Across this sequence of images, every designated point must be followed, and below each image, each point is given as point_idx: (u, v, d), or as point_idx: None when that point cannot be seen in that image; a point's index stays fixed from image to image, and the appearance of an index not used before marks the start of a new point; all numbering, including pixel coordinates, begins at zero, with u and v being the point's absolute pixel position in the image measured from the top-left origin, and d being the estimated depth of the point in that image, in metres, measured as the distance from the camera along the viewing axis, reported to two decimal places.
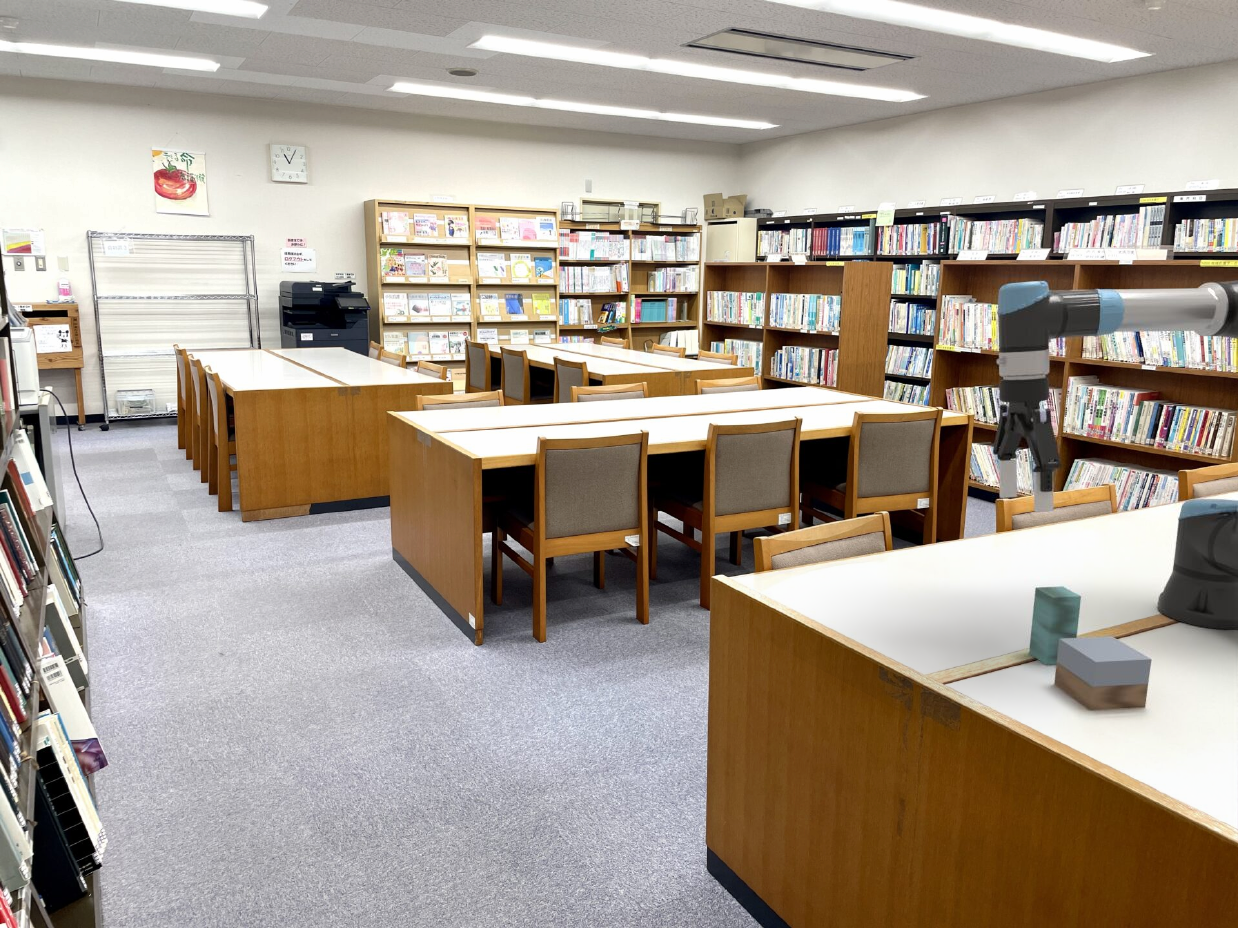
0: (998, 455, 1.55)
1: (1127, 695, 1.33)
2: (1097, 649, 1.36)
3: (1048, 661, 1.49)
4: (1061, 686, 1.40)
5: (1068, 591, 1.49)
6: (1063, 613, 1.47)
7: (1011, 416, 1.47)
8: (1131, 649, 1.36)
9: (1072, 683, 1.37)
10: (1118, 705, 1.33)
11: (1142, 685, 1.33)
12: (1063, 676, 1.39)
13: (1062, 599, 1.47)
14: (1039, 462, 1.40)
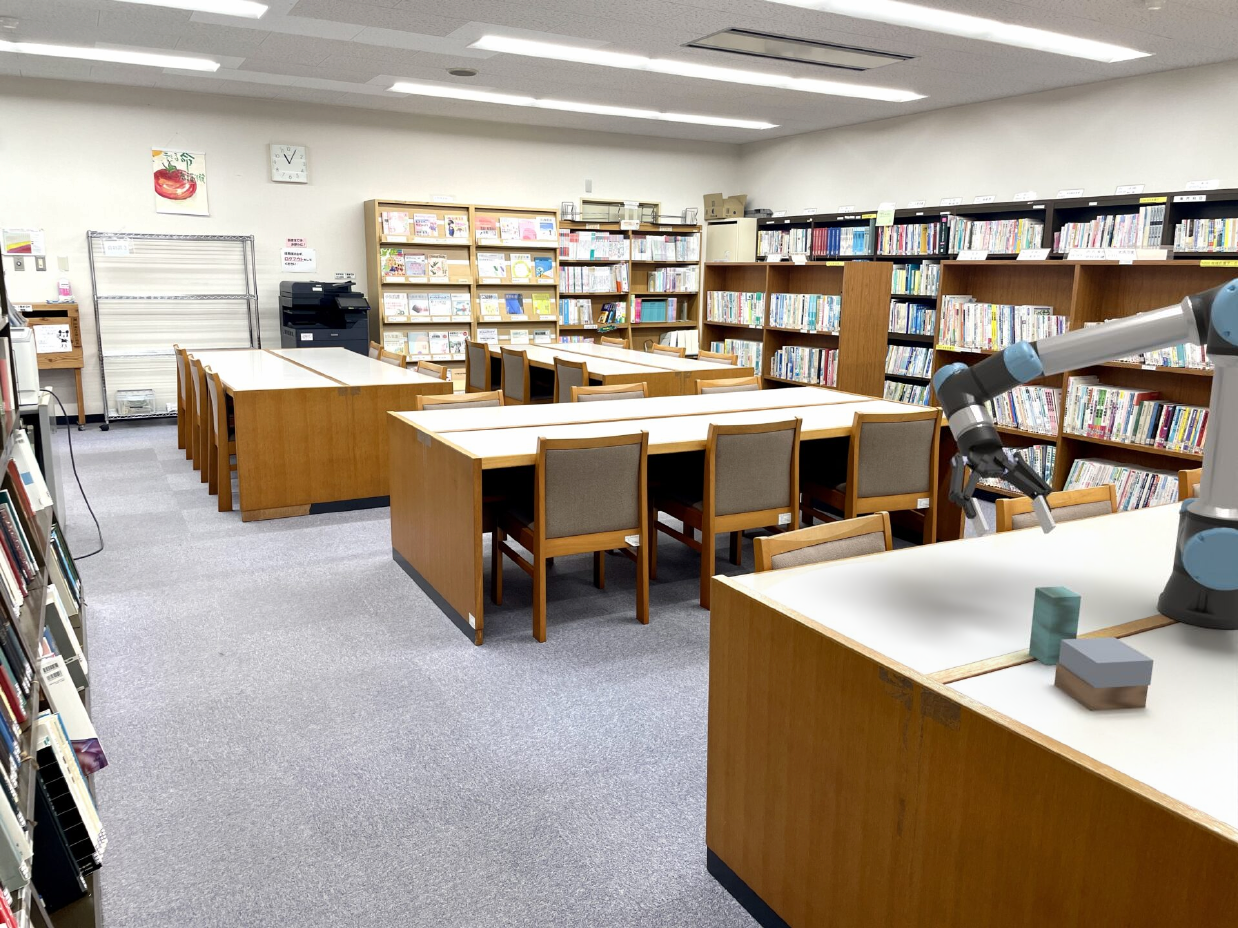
0: (1034, 498, 1.65)
1: (1127, 695, 1.33)
2: (1099, 650, 1.36)
3: (1048, 661, 1.49)
4: (1061, 687, 1.40)
5: (1068, 591, 1.49)
6: (1063, 613, 1.47)
7: None
8: (1133, 650, 1.36)
9: (1072, 683, 1.37)
10: (1118, 706, 1.33)
11: (1142, 686, 1.33)
12: (1063, 677, 1.39)
13: (1062, 599, 1.47)
14: None
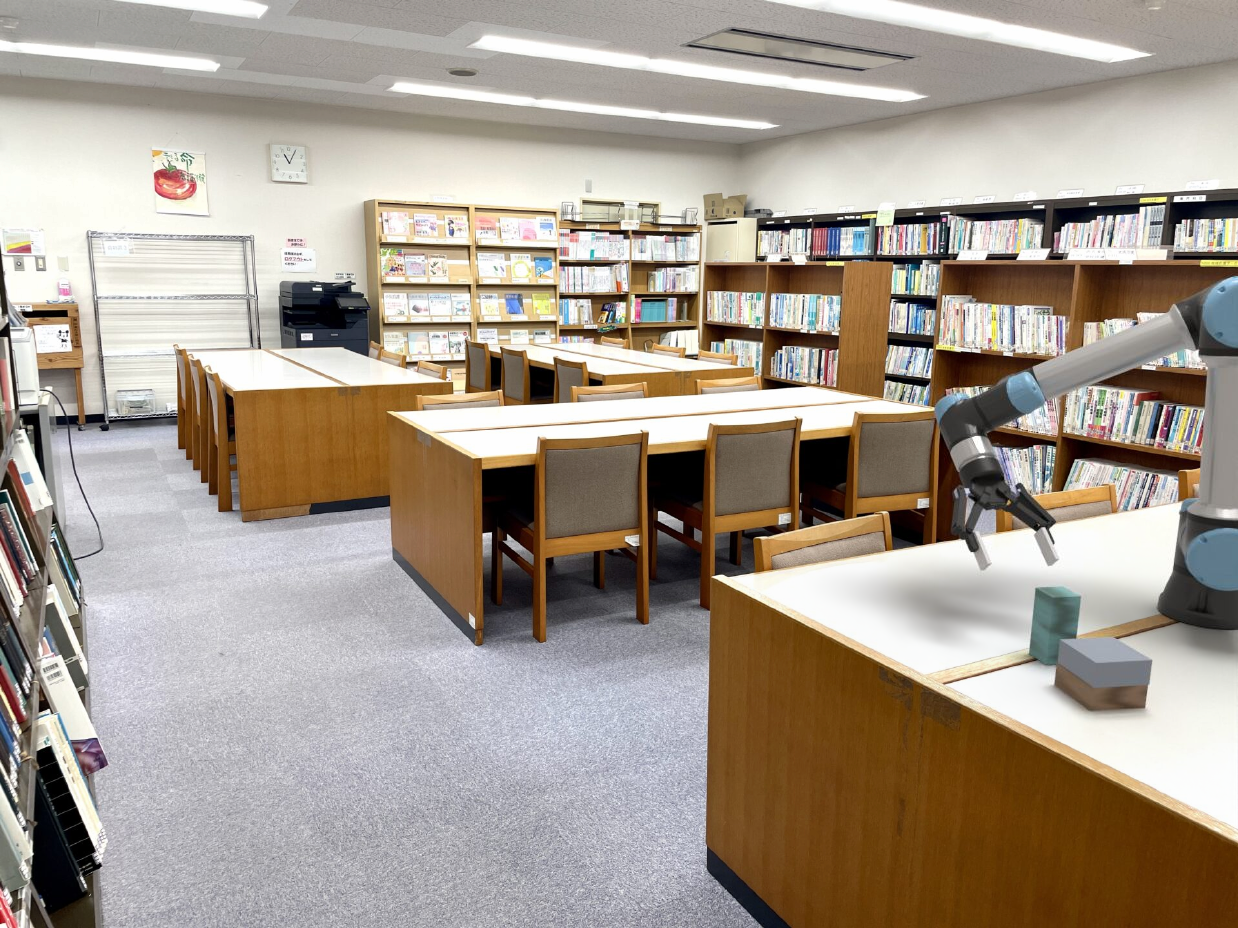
0: (1037, 530, 1.64)
1: (1127, 695, 1.33)
2: (1098, 650, 1.36)
3: (1048, 661, 1.49)
4: (1061, 686, 1.40)
5: (1068, 591, 1.49)
6: (1063, 613, 1.47)
7: None
8: (1132, 650, 1.36)
9: (1072, 683, 1.37)
10: (1118, 706, 1.33)
11: (1142, 686, 1.33)
12: (1063, 677, 1.39)
13: (1062, 599, 1.47)
14: None
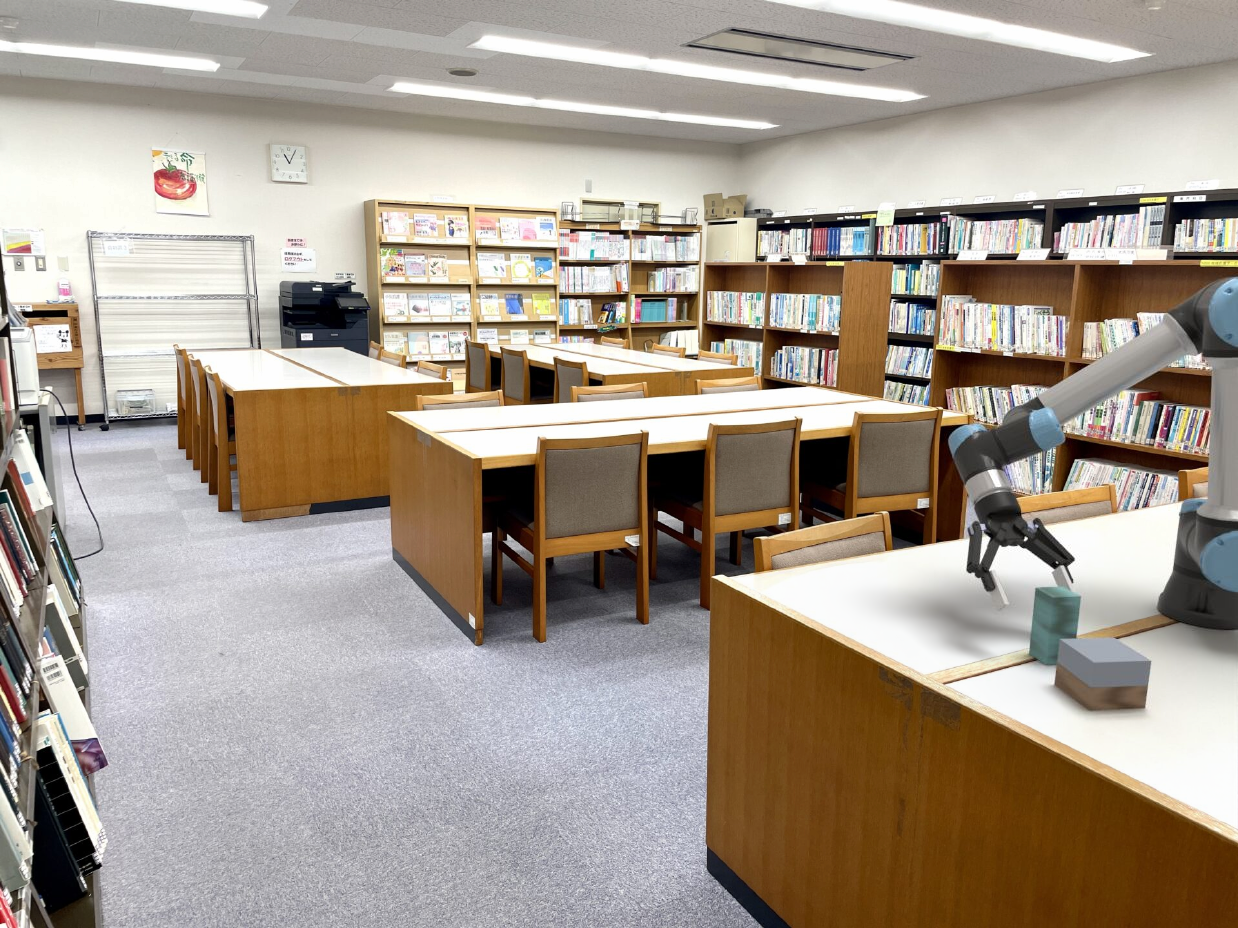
0: None
1: (1127, 695, 1.33)
2: (1097, 650, 1.36)
3: (1048, 661, 1.49)
4: (1061, 686, 1.40)
5: (1068, 591, 1.49)
6: (1063, 613, 1.47)
7: None
8: (1132, 650, 1.36)
9: (1072, 683, 1.37)
10: (1118, 706, 1.33)
11: (1142, 686, 1.33)
12: (1063, 677, 1.39)
13: (1062, 599, 1.47)
14: None
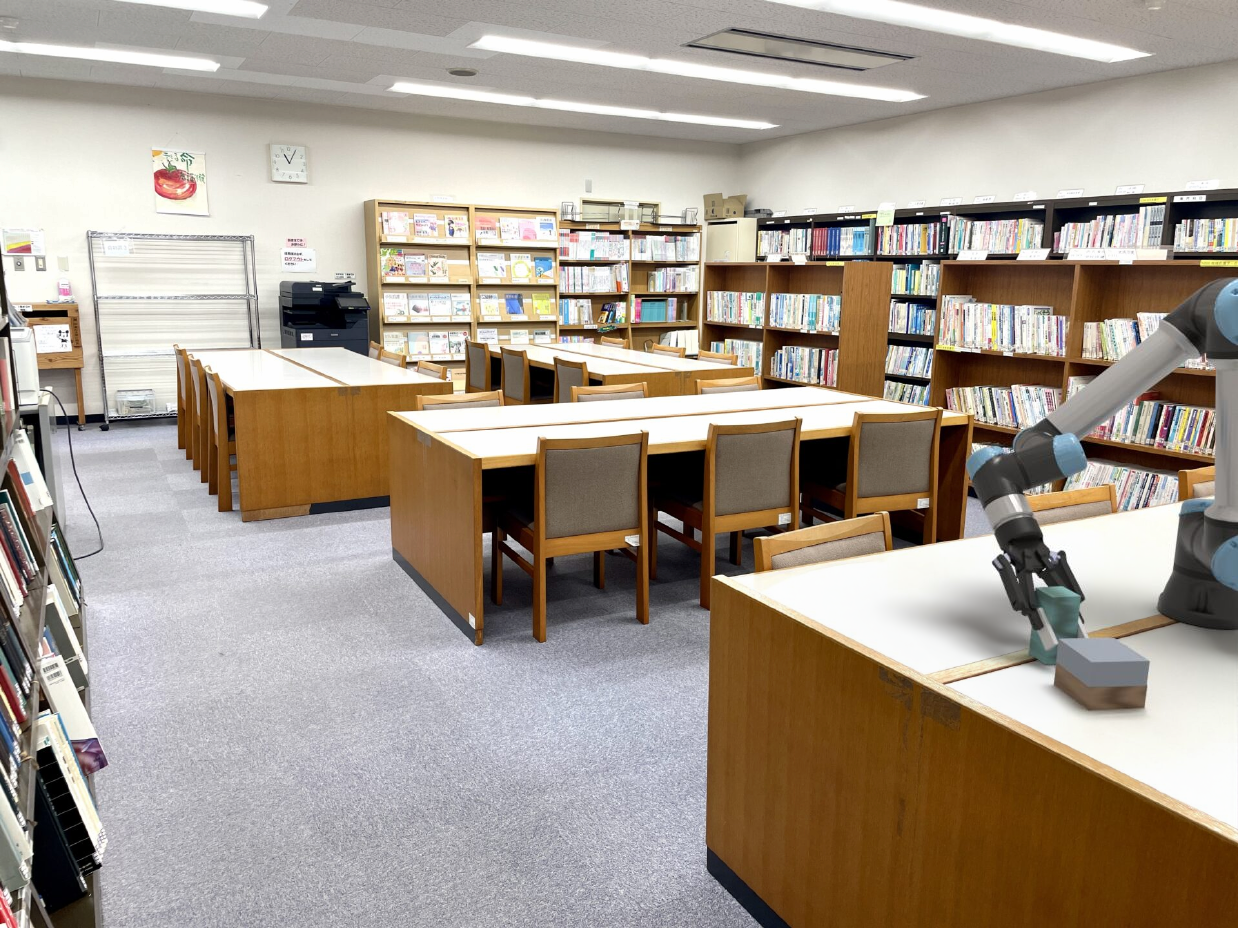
0: None
1: (1127, 695, 1.33)
2: (1095, 649, 1.36)
3: (1048, 661, 1.49)
4: (1060, 686, 1.40)
5: (1068, 591, 1.49)
6: (1063, 613, 1.47)
7: None
8: (1131, 651, 1.36)
9: (1071, 683, 1.37)
10: (1117, 705, 1.33)
11: (1141, 686, 1.33)
12: (1062, 677, 1.39)
13: (1062, 599, 1.47)
14: None
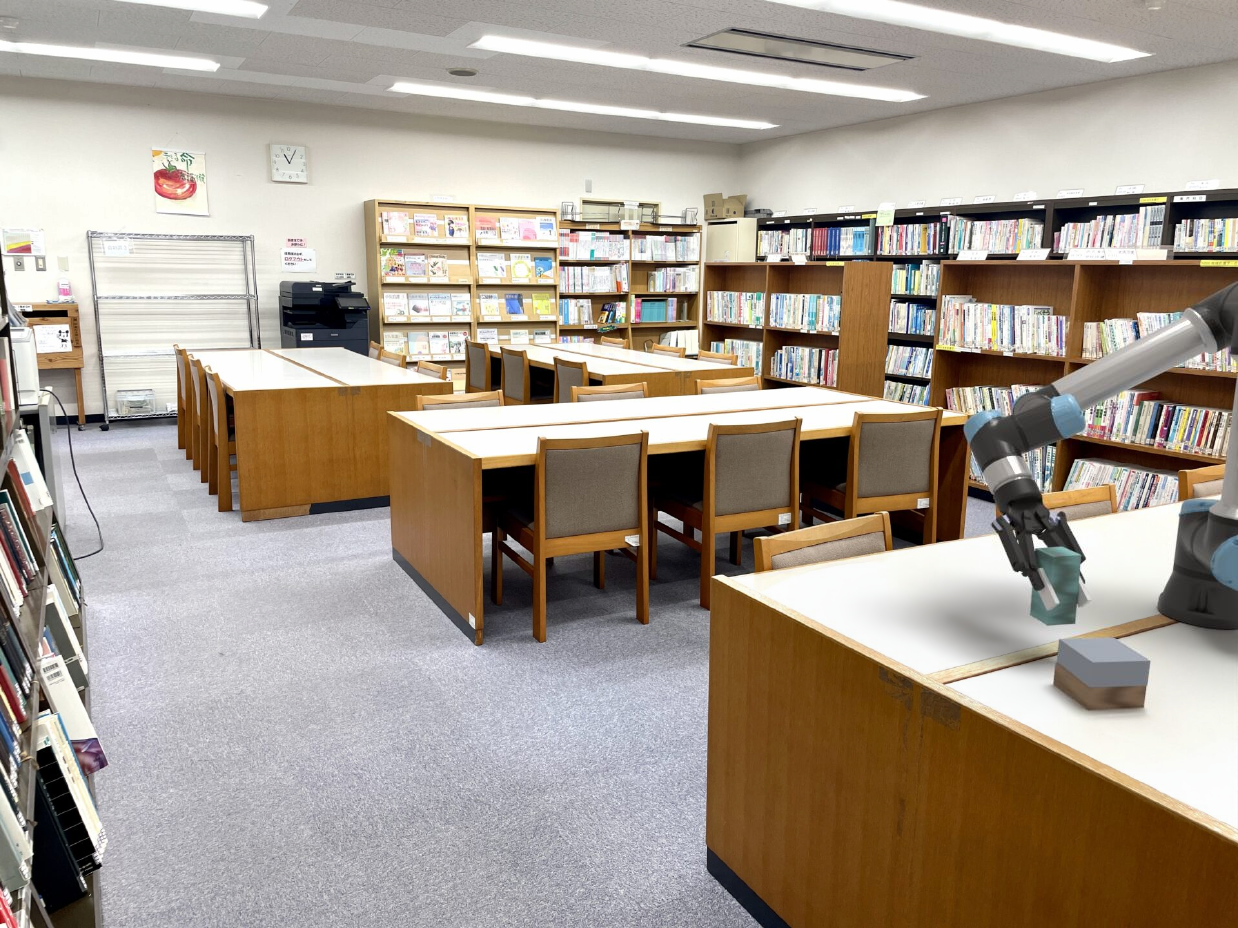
0: None
1: (1126, 695, 1.33)
2: (1096, 649, 1.36)
3: (1049, 621, 1.47)
4: (1060, 686, 1.40)
5: (1068, 551, 1.48)
6: (1064, 572, 1.46)
7: None
8: (1131, 650, 1.36)
9: (1071, 683, 1.37)
10: (1117, 705, 1.33)
11: (1141, 686, 1.33)
12: (1062, 677, 1.39)
13: (1062, 558, 1.46)
14: None
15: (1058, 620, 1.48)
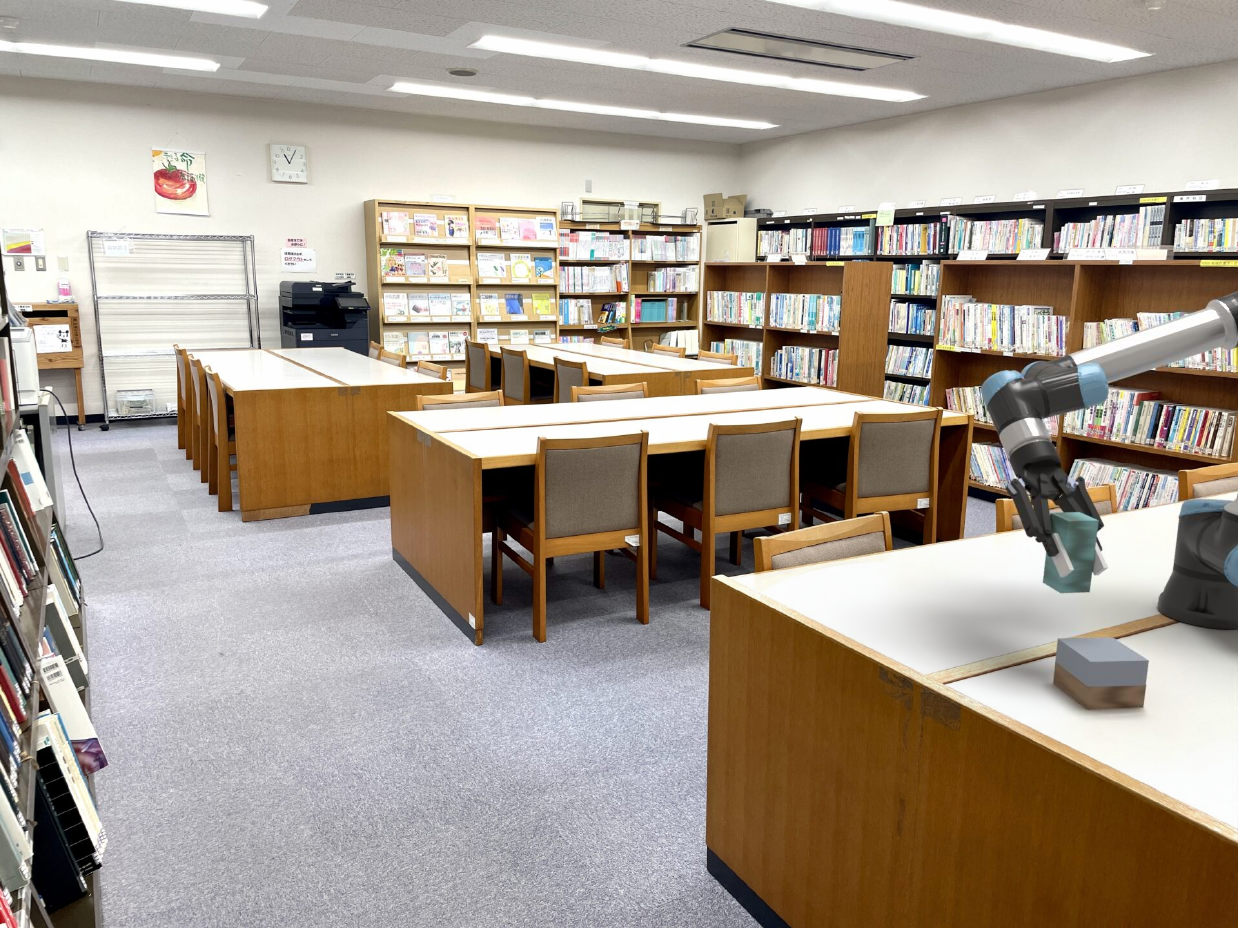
0: None
1: (1125, 695, 1.33)
2: (1095, 649, 1.36)
3: (1063, 589, 1.41)
4: (1059, 686, 1.40)
5: (1085, 516, 1.42)
6: (1080, 538, 1.40)
7: None
8: (1130, 650, 1.36)
9: (1070, 682, 1.37)
10: (1116, 705, 1.33)
11: None
12: (1061, 676, 1.39)
13: (1079, 523, 1.39)
14: None
15: (1072, 588, 1.41)
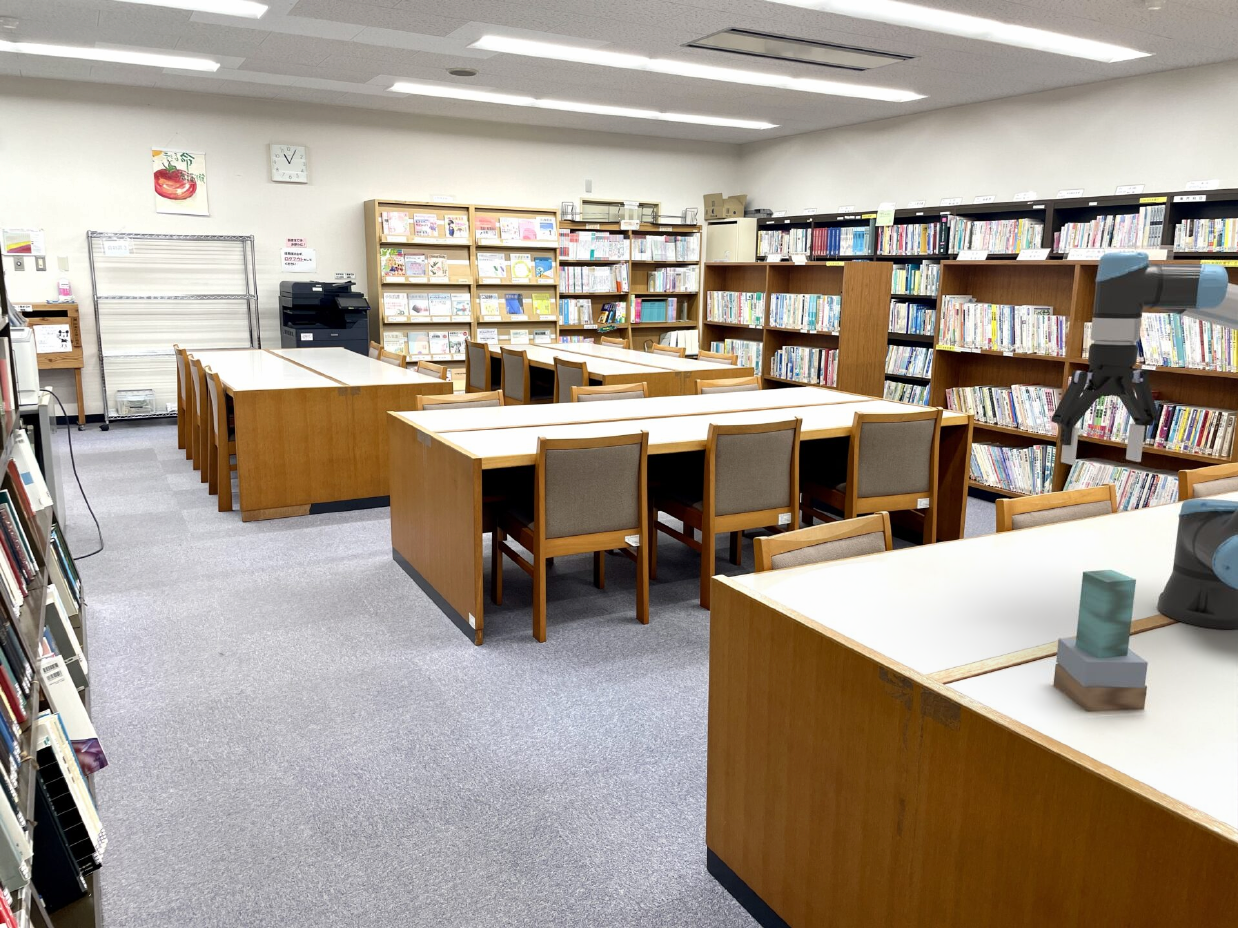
0: None
1: (1126, 696, 1.33)
2: None
3: (1101, 653, 1.33)
4: (1060, 687, 1.39)
5: (1120, 574, 1.34)
6: (1118, 599, 1.32)
7: None
8: (1130, 652, 1.35)
9: (1071, 684, 1.37)
10: (1116, 707, 1.33)
11: None
12: (1062, 678, 1.39)
13: (1117, 583, 1.31)
14: None
15: (1110, 652, 1.33)
